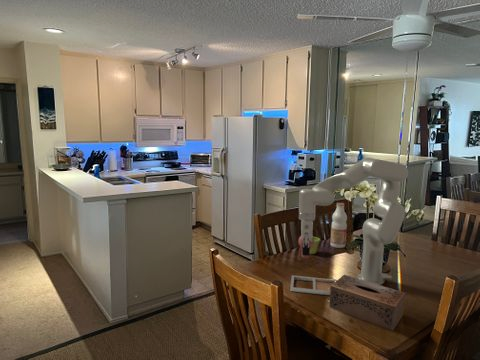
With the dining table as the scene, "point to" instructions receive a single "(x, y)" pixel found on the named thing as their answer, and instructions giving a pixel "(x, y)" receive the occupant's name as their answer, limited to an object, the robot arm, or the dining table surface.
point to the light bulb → (302, 246)
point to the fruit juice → (339, 227)
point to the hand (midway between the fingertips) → (305, 251)
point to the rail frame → (319, 285)
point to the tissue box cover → (367, 301)
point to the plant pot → (314, 245)
